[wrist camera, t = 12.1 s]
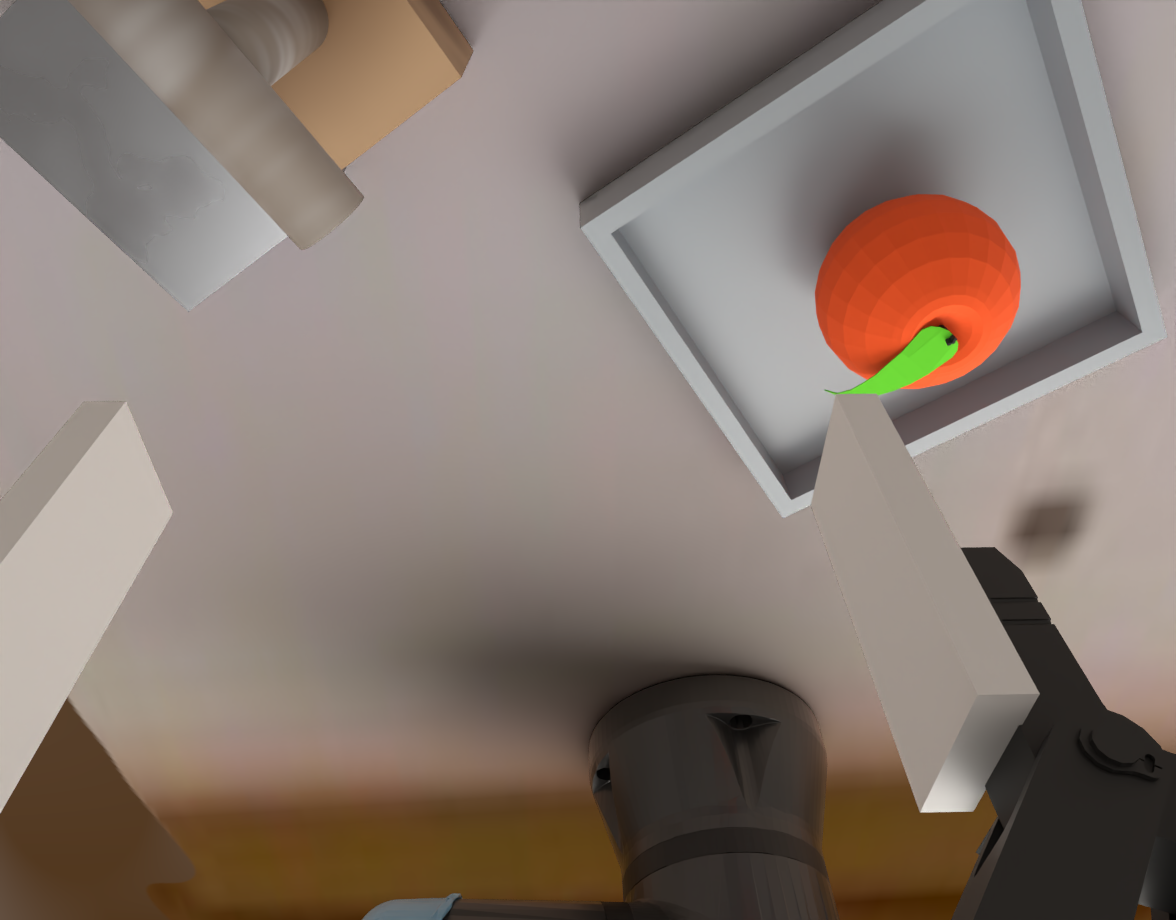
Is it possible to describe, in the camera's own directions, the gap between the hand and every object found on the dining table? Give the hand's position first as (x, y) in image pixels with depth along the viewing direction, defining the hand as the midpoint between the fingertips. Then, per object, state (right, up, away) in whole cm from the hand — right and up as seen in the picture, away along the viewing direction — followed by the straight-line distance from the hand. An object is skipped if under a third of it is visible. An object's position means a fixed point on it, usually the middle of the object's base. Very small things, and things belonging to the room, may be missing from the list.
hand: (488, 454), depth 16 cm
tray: (+13, +8, +17) cm, 23 cm away
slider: (-7, +15, +11) cm, 20 cm away
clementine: (+13, +8, +17) cm, 23 cm away
